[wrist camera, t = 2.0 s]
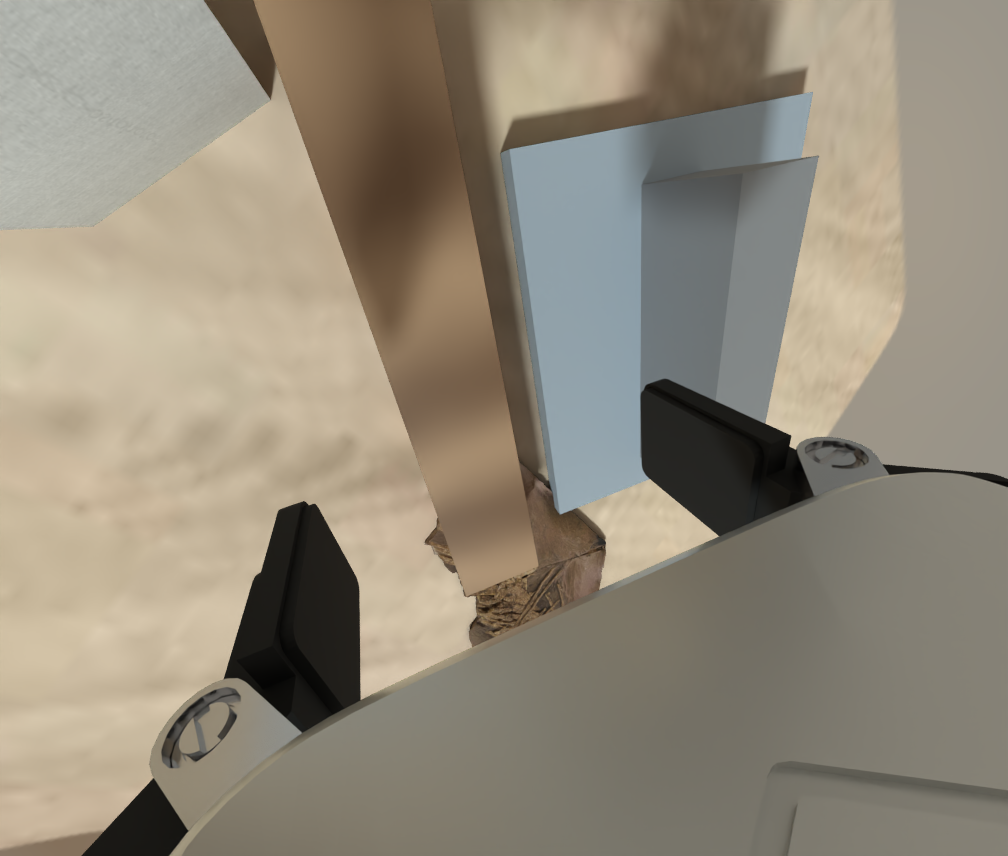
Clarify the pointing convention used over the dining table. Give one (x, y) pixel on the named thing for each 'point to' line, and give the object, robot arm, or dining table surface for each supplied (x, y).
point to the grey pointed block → (108, 102)
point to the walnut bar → (411, 254)
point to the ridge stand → (654, 274)
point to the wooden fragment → (552, 584)
